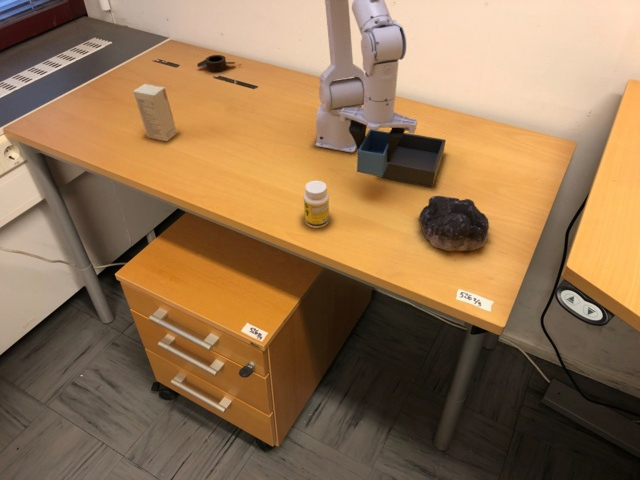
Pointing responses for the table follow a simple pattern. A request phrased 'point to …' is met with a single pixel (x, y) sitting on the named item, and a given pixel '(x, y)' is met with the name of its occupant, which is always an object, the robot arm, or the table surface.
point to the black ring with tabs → (215, 63)
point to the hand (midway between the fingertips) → (375, 157)
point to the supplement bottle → (316, 204)
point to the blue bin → (373, 153)
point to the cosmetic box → (155, 112)
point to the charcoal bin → (416, 160)
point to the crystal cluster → (454, 224)
